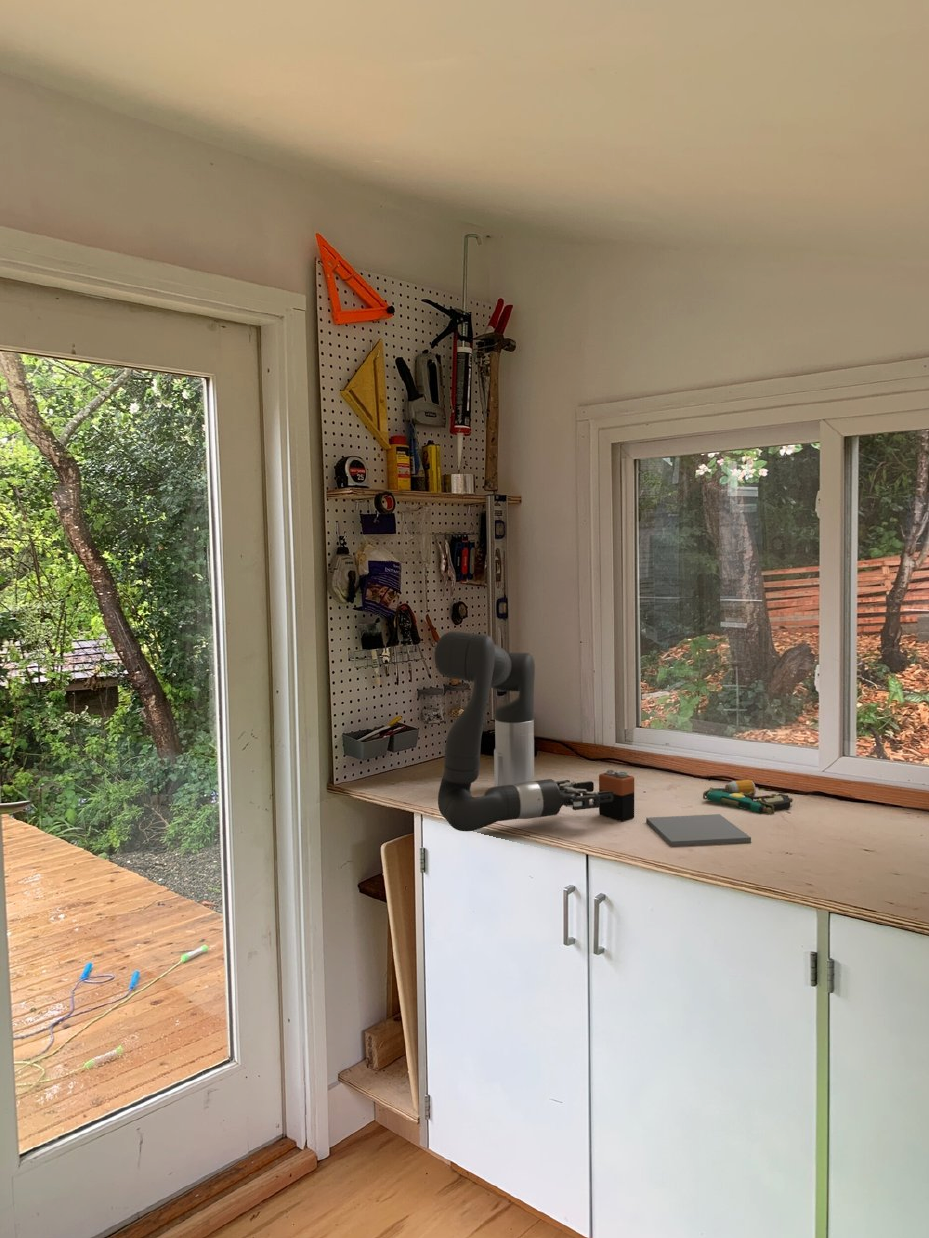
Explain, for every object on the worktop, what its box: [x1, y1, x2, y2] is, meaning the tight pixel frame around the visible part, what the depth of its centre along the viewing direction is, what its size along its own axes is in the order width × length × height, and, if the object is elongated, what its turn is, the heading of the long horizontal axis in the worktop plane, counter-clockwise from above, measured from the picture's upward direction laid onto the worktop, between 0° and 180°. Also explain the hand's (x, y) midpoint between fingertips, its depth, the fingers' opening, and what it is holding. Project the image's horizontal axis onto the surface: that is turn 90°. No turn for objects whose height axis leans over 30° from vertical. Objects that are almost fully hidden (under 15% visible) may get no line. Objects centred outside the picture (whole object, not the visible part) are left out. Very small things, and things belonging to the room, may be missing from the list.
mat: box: [645, 813, 752, 847], centre depth 186 cm, size 16×16×1 cm
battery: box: [598, 769, 635, 822], centre depth 197 cm, size 4×7×10 cm, turn 38°
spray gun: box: [702, 779, 794, 814], centre depth 205 cm, size 4×17×15 cm
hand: (602, 790), depth 196 cm, fingers open, 8 cm apart
